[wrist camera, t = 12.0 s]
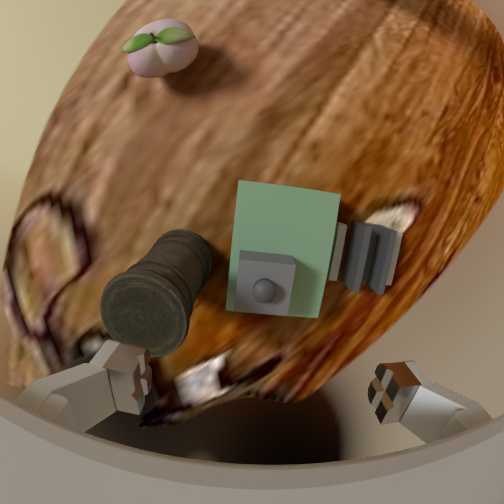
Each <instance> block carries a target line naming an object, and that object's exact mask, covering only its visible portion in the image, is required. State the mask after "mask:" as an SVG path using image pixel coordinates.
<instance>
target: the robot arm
mask: <svg viewBox="0 0 504 504" xmlns="http://www.w3.org/2000/svg"><path fill="white" fill-rule="evenodd" d="M150 359H151V358H150V350H149V349H148V348H145V347H140V346H136V345H131V344H127V343H121V342H118V341H113V340H107V341H106V342H105V343H104V345H103V346H102V347H101V348H100V350H99V351H98V352H97V354H96V355H95V356H94V358H93V359H92V360H91V361H90V363H89V364H87V363H84V364H81V365H78V366H76V367H73V368H70V369H67V370H65V371H62V372H59V373H56V374H53V375H51V376H48V377H45V378H42V379H39V380H36V381H33V382H31V383H30V384H29V385H28V387H27V388H26V389H25V390H24V391H23V392H22V393H21V395H20V396H19V397H18V398H17V399H16V401H15V402H14V401H12V400H10V399H9V398H7V397H5V396H3V395H2V394H0V504H504V414H503V415H501V416H499V417H497V418H495V419H492V417H490V415H489V414H488V413H487V412H486V410H485V409H484V408H483V407H482V406H481V405H480V403H478V402H476V401H474V400H471V399H469V398H467V397H465V396H463V395H461V394H458V393H456V392H454V391H452V390H450V389H448V388H446V387H443V386H441V385H439V384H437V383H432V382H431V380H430V379H429V378H428V377H427V375H426V374H425V373H424V372H423V371H422V369H421V368H420V367H419V366H418V365H417V363H416V362H414V361H404V362H396V363H382V364H379V365H378V366H377V368H376V371H375V375H376V378H374V379H373V380H372V381H371V383H370V385H369V388H368V399H369V402H370V404H371V405H372V406H374V407H375V408H376V411H375V414H376V416H377V418H378V420H379V422H380V424H388V423H395V422H400V424H402V425H403V426H404V427H406V428H407V429H408V430H410V431H411V432H412V433H413V434H415V435H416V436H417V437H419V438H420V439H421V440H422V441H424V442H425V443H426V444H424V445H421V446H417V447H413V448H409V449H405V450H401V451H397V452H393V453H388V454H383V455H378V456H372V457H367V458H360V459H353V460H347V461H338V462H328V463H318V464H300V465H247V464H230V463H219V462H208V461H201V460H193V459H186V458H180V457H174V456H169V455H163V454H159V453H154V452H149V451H145V450H141V449H136V448H132V447H129V446H125V445H121V444H118V443H114V442H111V441H108V440H104V439H101V438H98V437H95V436H92V435H89V434H86V433H84V432H85V431H87V430H88V429H90V428H91V427H92V426H94V425H95V424H97V423H99V422H100V421H101V420H103V419H105V418H106V417H108V416H109V415H111V414H112V413H114V412H115V411H116V410H120V411H124V412H128V413H133V414H138V415H140V412H141V410H142V407H143V405H144V402H145V401H144V395H146V394H148V392H149V390H150V386H151V381H152V370H151V367H150V366H149V365H148V363H149V361H150Z"/></svg>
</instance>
